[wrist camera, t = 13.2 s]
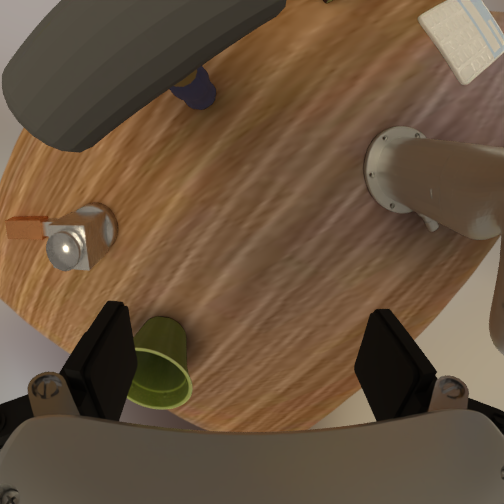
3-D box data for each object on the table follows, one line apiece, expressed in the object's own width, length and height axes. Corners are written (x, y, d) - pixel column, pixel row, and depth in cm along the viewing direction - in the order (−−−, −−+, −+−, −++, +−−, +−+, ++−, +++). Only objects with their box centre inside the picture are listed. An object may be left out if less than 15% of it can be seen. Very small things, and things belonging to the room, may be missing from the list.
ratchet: (116, 202, 39) (100, 212, 33) (120, 250, 41) (105, 265, 36) (12, 204, 37) (-9, 214, 32) (17, 245, 40) (-2, 257, 35)
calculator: (413, 19, 31) (419, 15, 29) (467, -11, 26) (473, -14, 25) (460, 87, 34) (467, 87, 33) (506, 47, 30) (512, 46, 29)
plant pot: (141, 290, 44) (118, 333, 33) (212, 323, 46) (206, 372, 36) (121, 342, 47) (100, 388, 37) (183, 370, 50) (175, 419, 39)
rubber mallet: (178, 147, 37) (32, 178, 9) (146, 103, 34) (-29, 59, 6) (259, 91, 35) (320, -28, 7) (225, 48, 32) (204, -119, 4)
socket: (105, 211, 37) (77, 229, 29) (109, 250, 39) (84, 276, 31) (71, 211, 36) (40, 229, 29) (76, 249, 38) (47, 272, 31)
